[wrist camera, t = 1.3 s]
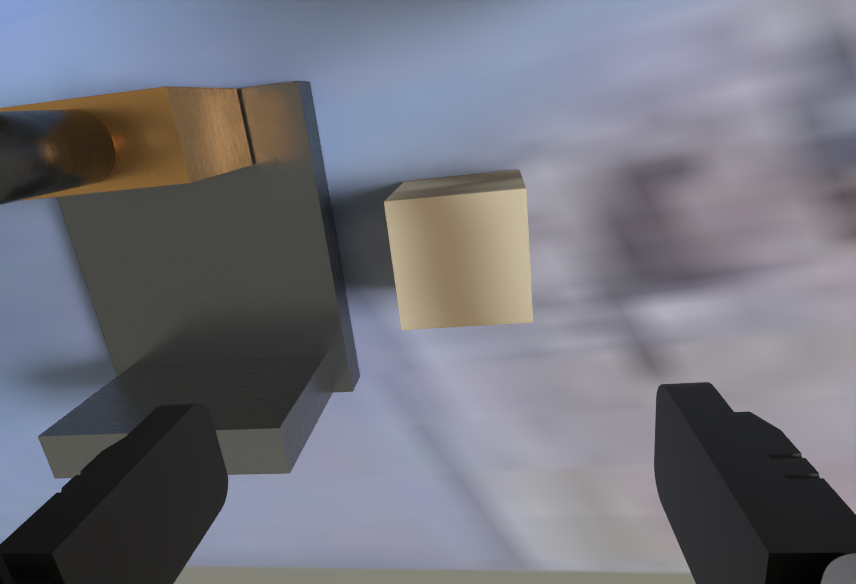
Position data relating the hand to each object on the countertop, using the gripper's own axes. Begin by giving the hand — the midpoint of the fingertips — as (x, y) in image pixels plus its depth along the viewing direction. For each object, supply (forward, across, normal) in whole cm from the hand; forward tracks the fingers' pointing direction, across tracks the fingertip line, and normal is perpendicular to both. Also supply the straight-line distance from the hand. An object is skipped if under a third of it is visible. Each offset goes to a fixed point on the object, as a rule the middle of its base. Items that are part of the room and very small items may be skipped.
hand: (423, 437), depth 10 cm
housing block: (+16, 0, 0) cm, 16 cm away
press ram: (+14, +12, -5) cm, 19 cm away
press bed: (+16, +12, 0) cm, 20 cm away
